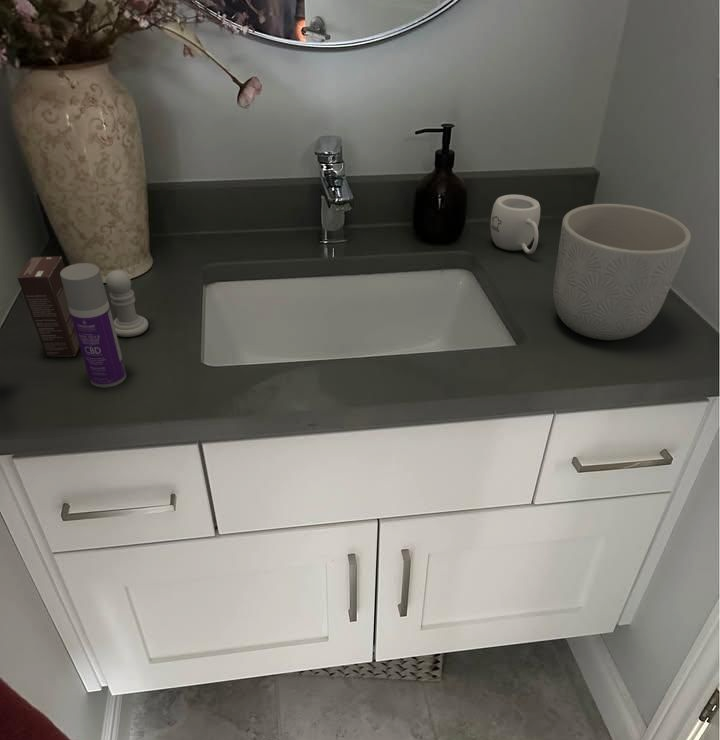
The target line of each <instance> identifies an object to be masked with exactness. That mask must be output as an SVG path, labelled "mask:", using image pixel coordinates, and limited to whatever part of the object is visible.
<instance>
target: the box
mask: <svg viewBox="0 0 720 740" xmlns="http://www.w3.org/2000/svg"><path fill="white" fill-rule="evenodd" d="M64 268H65V263H64V261H63V257H62V256H55V255H54V256H30V258H29V260H28V261H27V262H26V264H25V265H24V267H23V268H22V269H21V270H20V272H19V273H18V275H17V281H18V283H19V286H20V289H21V291H22V294H23V296H24V299H25V300H24V301H25V302H26V305H27V308H28V311H29V313H30V316H31V318H32V321H33V324H34V327H35V330H36V332H37V335H38V338H39V341H40V343H41V346H42V348H43V351H44V355H45V357H48V358H49V357H50V358H54V357H56V358H58V357H59V358H63V357H64V358H68V357H76V356H77V354H78V352H79V350H80V349H81V348H80V345H79V342H78V338H77V335H76V331H75V328H74V324H73V321H72V318H71V314H70V310H69V306H68V302H67V299H66V295H65V291H64V287H63V283H62V279H61V275H60V272H61V271H62V270H63V269H64Z"/></svg>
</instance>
